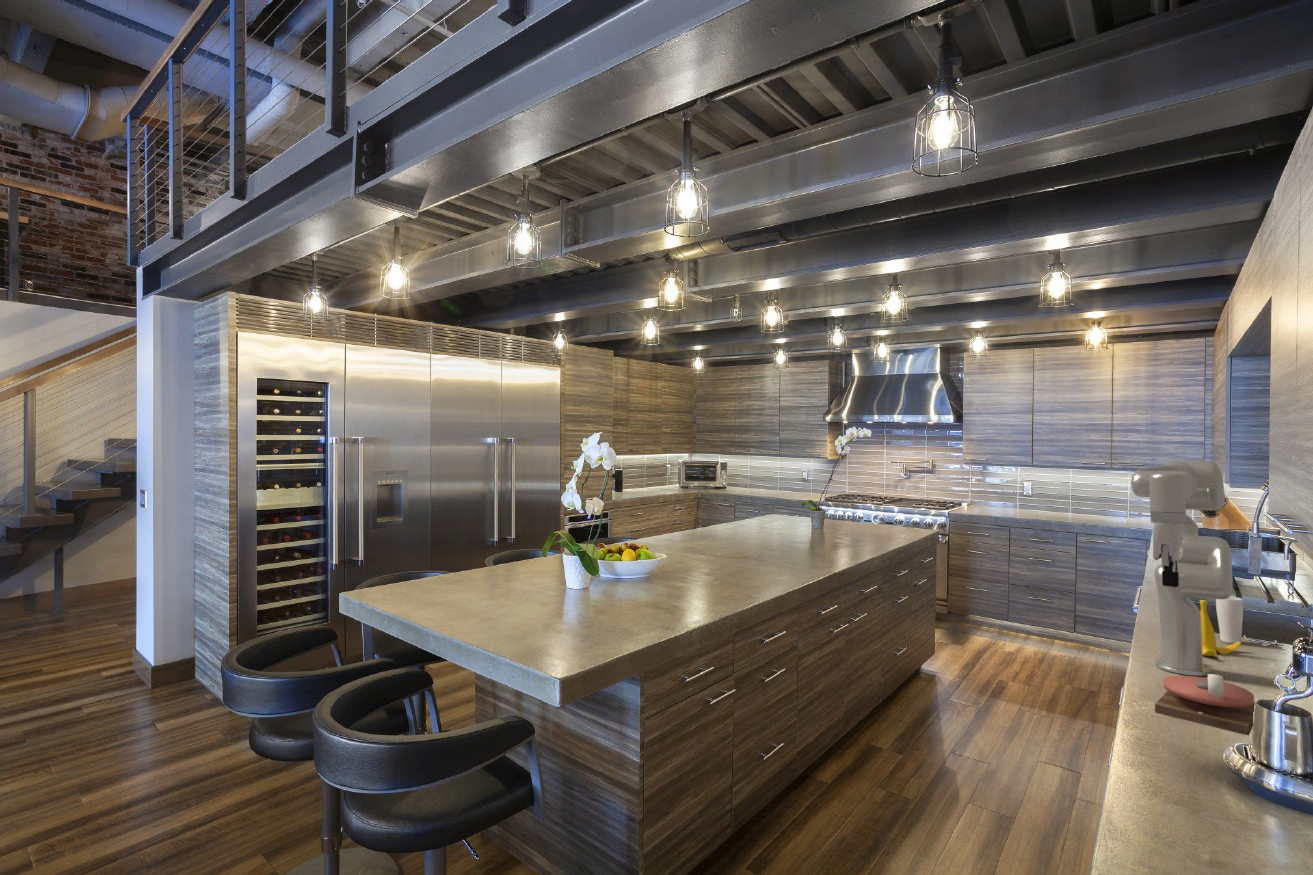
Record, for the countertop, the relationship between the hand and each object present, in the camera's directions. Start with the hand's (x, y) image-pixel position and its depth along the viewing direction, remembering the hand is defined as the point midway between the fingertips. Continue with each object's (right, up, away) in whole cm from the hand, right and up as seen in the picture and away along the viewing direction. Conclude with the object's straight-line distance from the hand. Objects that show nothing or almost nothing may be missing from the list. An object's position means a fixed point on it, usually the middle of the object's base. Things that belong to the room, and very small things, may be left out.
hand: (1170, 585), depth 169 cm
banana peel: (+38, -30, +32) cm, 58 cm away
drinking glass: (+56, -30, +43) cm, 77 cm away
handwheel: (-1, -24, -12) cm, 27 cm away
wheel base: (-1, -29, -12) cm, 31 cm away
